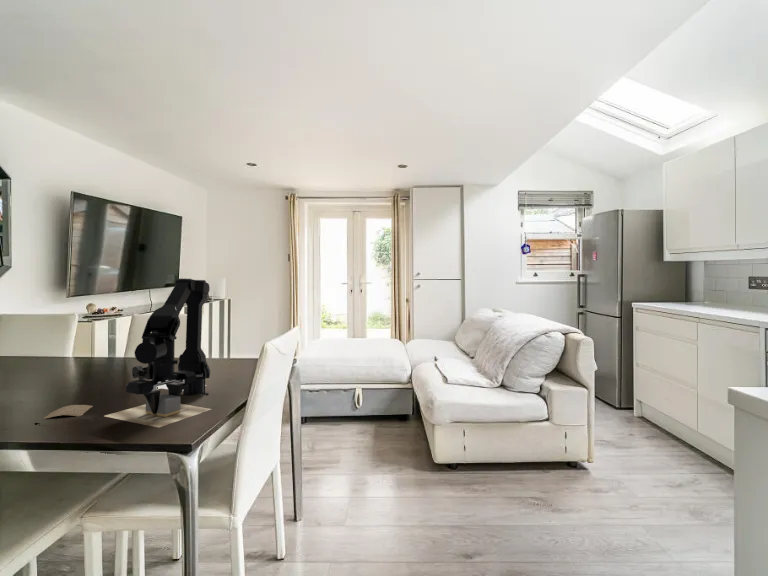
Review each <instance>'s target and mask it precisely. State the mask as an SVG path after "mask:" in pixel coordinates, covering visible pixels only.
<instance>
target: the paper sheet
mask: <svg viewBox="0 0 768 576" xmlns="http://www.w3.org/2000/svg"><path fill="white" fill-rule="evenodd" d="M166 381H168V380H166ZM158 383H159V382H158ZM207 386H208V385H206V384H205V387H207ZM157 387H158V389H157V390H159V389H163V390H168V388H167V386H166V384H164V385H160V386H157Z"/></svg>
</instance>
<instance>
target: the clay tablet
mask: <svg viewBox="0 0 768 576" xmlns="http://www.w3.org/2000/svg"><path fill="white" fill-rule="evenodd" d="M93 407H94V405H88V404H71V405H65V406H63V407H60V408H57V409H55V410H54V411H52V412H50V413H48V415H46V416H44V418H43V419H44V420H45V419H50V418H53V417H58V416H59V417H61V416H75V417H81V416H83V415H84V414H85V413H86V412H88V411H89V410H90V409H91V408H93ZM36 423H37V422H35V424H36Z"/></svg>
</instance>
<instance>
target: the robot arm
mask: <svg viewBox="0 0 768 576" xmlns="http://www.w3.org/2000/svg"><path fill="white" fill-rule="evenodd" d="M209 292H210V284H209V283H207V281H206V280H205V279H192V278H178V279H176V280H175V283H174V287H173V288H172V290H171V292H170V293H169V294H168V297H167V298H166V300H165V303H164V304H163V305H162V306H161V307H159V308H157V309H155V310H154V311H153V312H152V313H151V314H150V316H149V317H148V319H147V321H146V324H145V327H144V330H143V331H142V332H143V333H142V336H141V339H142V342H140V343H139V344H138V345H137V346H136V347H135V350H134V358H135V359H136V360H137V361H138V362H139V363H141V364H143V365H144V364H145V365H147V364H148V365H147V366H146V367H143V365H137V366H133V367H132V369H131V370H132V371H131V375H132V378H133V379H135V380H131V381H129V382H127V384H126V386H125V392H126V393H129V394H136V395H143V396H144V398H145V400H146V399H147V401H148V403H149V406H150V408H151V411H152V413H153V414H156V413H157V410H158V404H159V397H160V394H161V390H158V389H157V386H160V385H164V384H166V386H167V388H168V389H167V390H168V395H174V396H180V395H181V394H183V396H194V395H195V396H196V395H202V396H208V395H209V392H206V386H205V385H206V379H210V376H211V369H210V367H209V365H208V362H207V358H206V356H207V355H206V354H205V353H204V351H203V349H202V326H203V325H202V324H203V323H202V322H203V305H205V303H206V302H207V300H208V299H209V298H208V296H209ZM185 305H186V323H185V324H186V325H185V326H186V327H185V329H186V330H185V332H186V333H185V349H184V351H183V352H182V353H181V354H180V355H179V357H178V359H175V350H176V349H175V346H176V345H175V340H177V336H176V334H177V333H178V330H179V328H180V327H181V319H180V313H181V312H182V310H183V307H184V306H185ZM178 360H179V361H178ZM177 364H178V365H177ZM175 365H177V370H178V371H175ZM166 380H168V381H166ZM158 382H159V383H158ZM182 392H183V393H182ZM180 397H181V396H180Z"/></svg>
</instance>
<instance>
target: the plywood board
mask: <svg viewBox="0 0 768 576" xmlns="http://www.w3.org/2000/svg"><path fill="white" fill-rule="evenodd" d="M212 410H213V409H212V408H208V407H202V406H201V407H200V406H195V405H189V404H183V403H181V405H180V412H179V413H176V414H173V415H170V416H167V417H163V416H158V415H153V414H147V413H146V403H145V404H141V405H138V406H134V407H131V408H128V409H127V408H126V409H123V410H119V411H117V412H114V413H109V414H105V415H104V418H105V417H106V418H111V419H116V420H121V421H125V422H130V423H135V424H139V425H140V424H141V425H144V426H150V427H153V428H162V427H164V426H167V425H171V424H173V423H177V422H179V421H182V420H185V419H188V418H191V417H193V416H194V417H195V416H196V415H200V414H202V413H205V412H208V411H212Z"/></svg>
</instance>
